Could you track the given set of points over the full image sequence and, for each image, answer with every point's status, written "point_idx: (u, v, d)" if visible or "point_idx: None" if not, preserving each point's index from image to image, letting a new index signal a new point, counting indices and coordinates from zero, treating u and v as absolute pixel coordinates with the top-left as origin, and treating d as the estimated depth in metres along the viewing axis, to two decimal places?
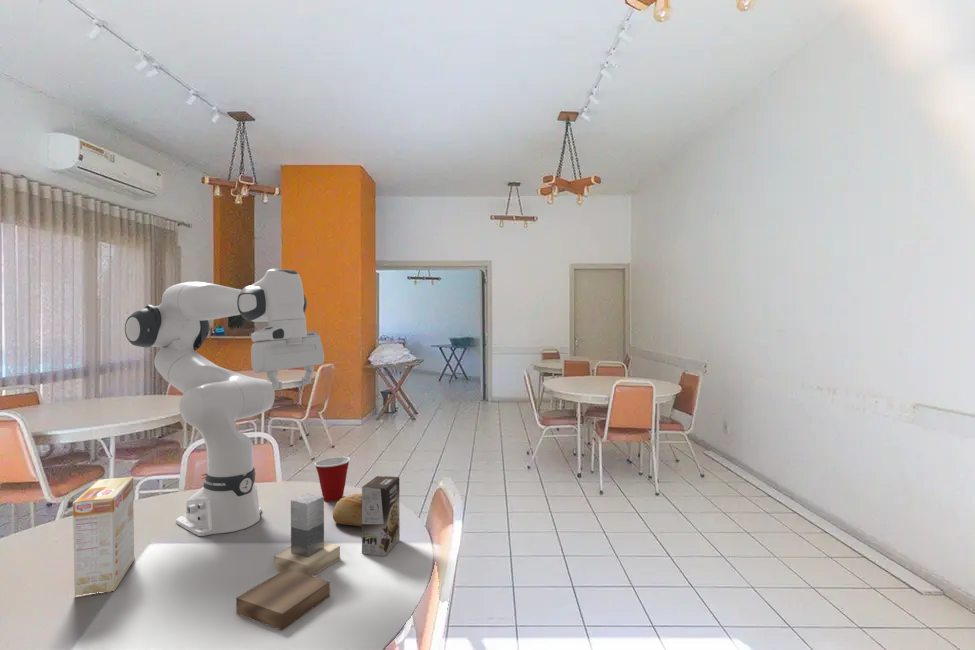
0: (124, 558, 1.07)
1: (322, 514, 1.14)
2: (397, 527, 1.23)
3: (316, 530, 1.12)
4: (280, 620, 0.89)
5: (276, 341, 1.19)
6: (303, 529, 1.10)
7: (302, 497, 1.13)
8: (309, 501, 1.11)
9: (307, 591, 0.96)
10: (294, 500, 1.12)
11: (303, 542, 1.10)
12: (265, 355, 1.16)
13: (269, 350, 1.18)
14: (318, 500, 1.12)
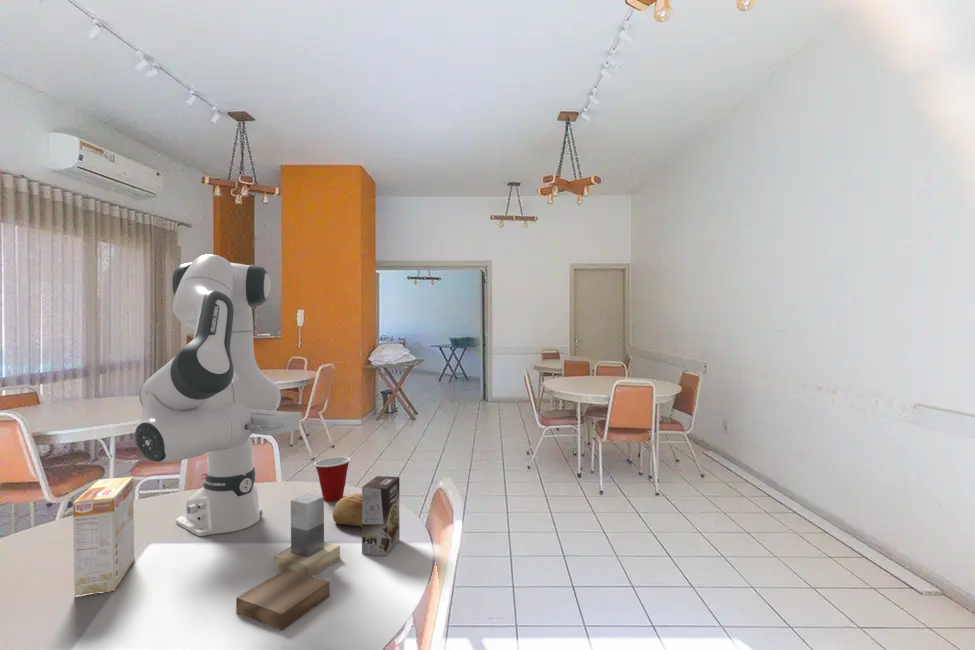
0: (124, 558, 1.07)
1: (322, 514, 1.14)
2: (397, 527, 1.23)
3: (316, 530, 1.12)
4: (280, 620, 0.89)
5: None
6: (303, 529, 1.10)
7: (302, 497, 1.13)
8: (309, 501, 1.11)
9: (307, 591, 0.96)
10: (294, 500, 1.12)
11: (303, 542, 1.10)
12: None
13: None
14: (318, 500, 1.12)
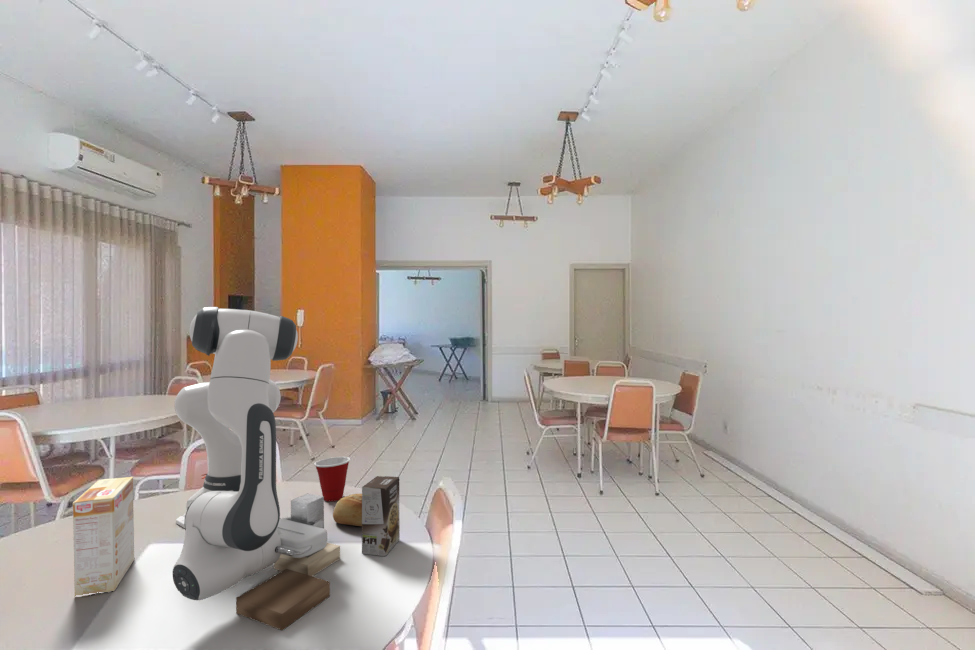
0: (124, 558, 1.07)
1: (322, 514, 1.14)
2: (397, 527, 1.23)
3: None
4: (280, 620, 0.89)
5: None
6: None
7: (302, 497, 1.13)
8: (309, 501, 1.11)
9: (307, 591, 0.96)
10: (294, 500, 1.12)
11: None
12: None
13: None
14: (317, 500, 1.12)
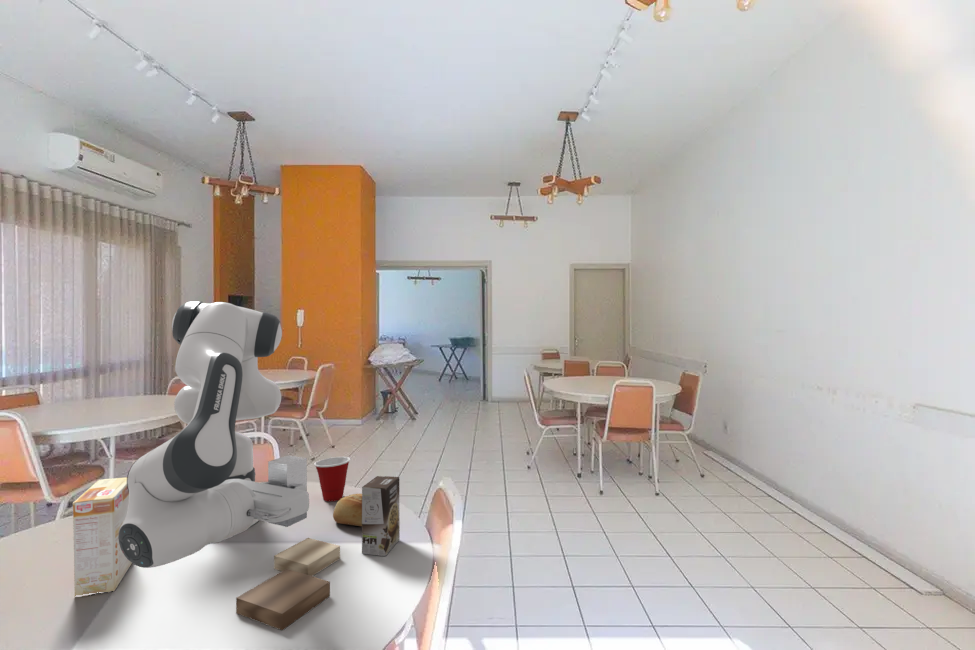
0: (124, 558, 1.07)
1: (305, 478, 0.99)
2: (397, 527, 1.23)
3: None
4: (280, 620, 0.89)
5: None
6: None
7: (282, 459, 0.99)
8: (290, 462, 0.96)
9: (307, 591, 0.96)
10: (272, 461, 0.97)
11: None
12: None
13: None
14: (299, 461, 0.98)
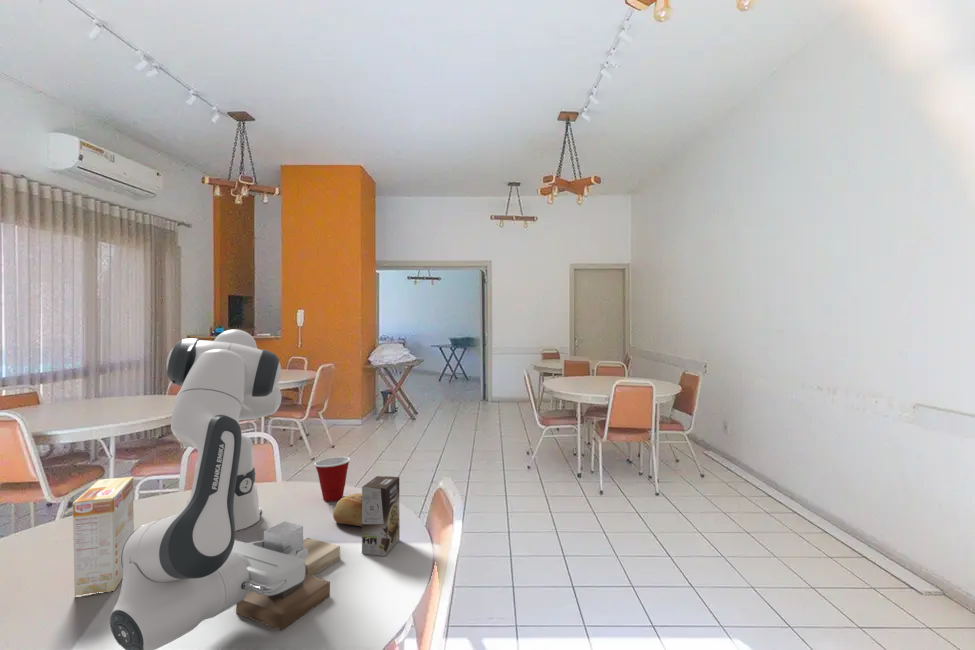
0: None
1: (301, 547, 0.98)
2: (397, 527, 1.23)
3: None
4: (280, 620, 0.89)
5: None
6: None
7: (278, 527, 0.97)
8: (286, 533, 0.95)
9: (307, 591, 0.96)
10: (268, 531, 0.96)
11: None
12: None
13: None
14: (295, 530, 0.96)
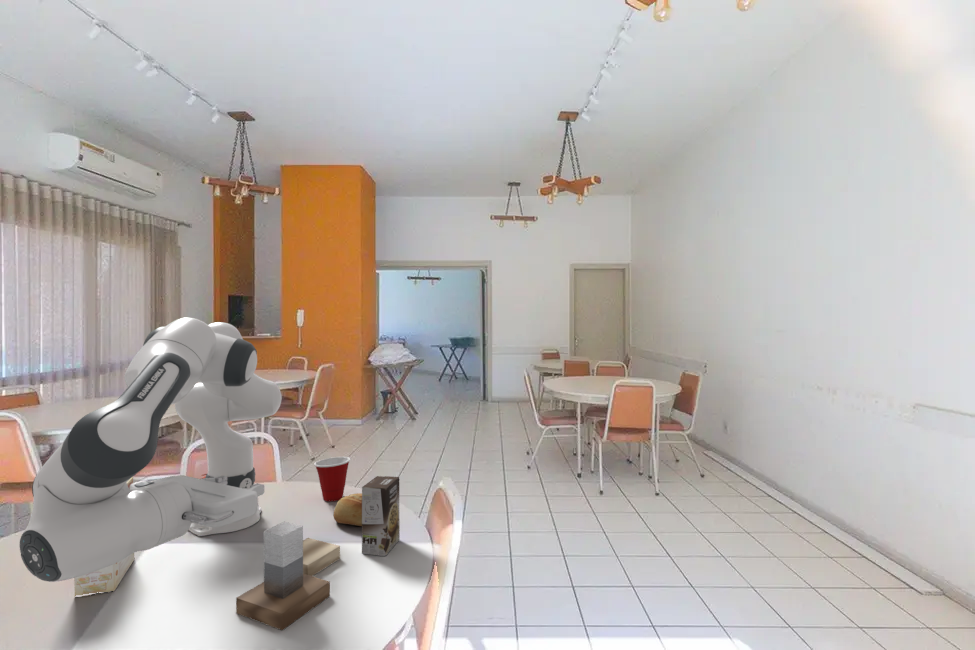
0: (124, 558, 1.07)
1: (301, 546, 0.98)
2: (397, 527, 1.23)
3: (293, 566, 0.96)
4: (280, 620, 0.89)
5: None
6: (278, 566, 0.94)
7: (278, 527, 0.97)
8: (285, 533, 0.95)
9: (307, 591, 0.96)
10: (268, 531, 0.96)
11: (278, 580, 0.94)
12: None
13: None
14: (295, 530, 0.96)
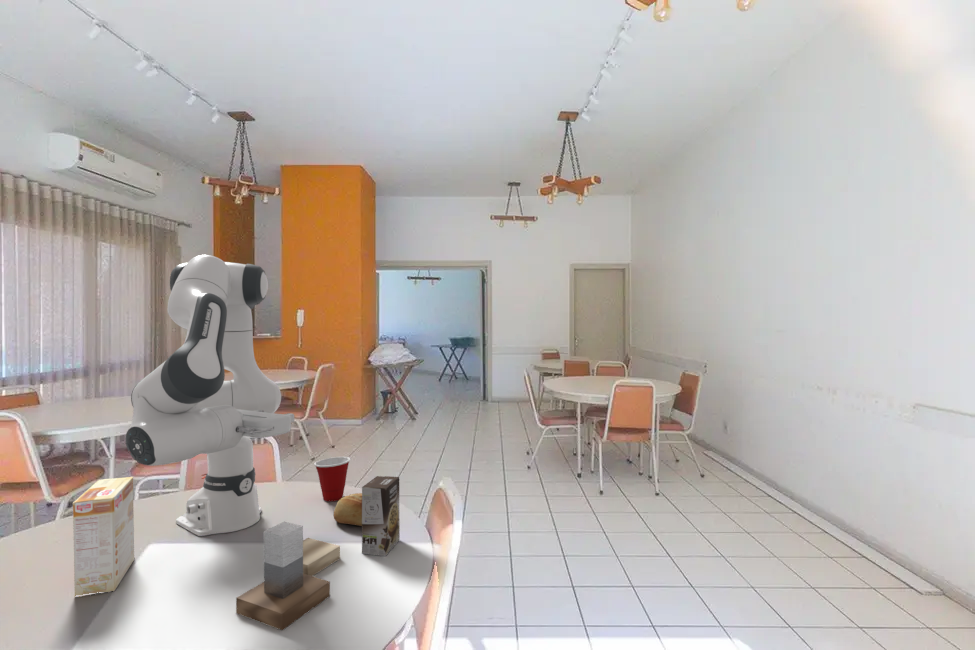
0: (124, 558, 1.07)
1: (301, 546, 0.98)
2: (397, 527, 1.23)
3: (293, 566, 0.96)
4: (280, 620, 0.89)
5: None
6: (278, 566, 0.94)
7: (278, 527, 0.97)
8: (285, 533, 0.95)
9: (307, 591, 0.96)
10: (268, 531, 0.96)
11: (278, 580, 0.94)
12: None
13: None
14: (295, 530, 0.96)
